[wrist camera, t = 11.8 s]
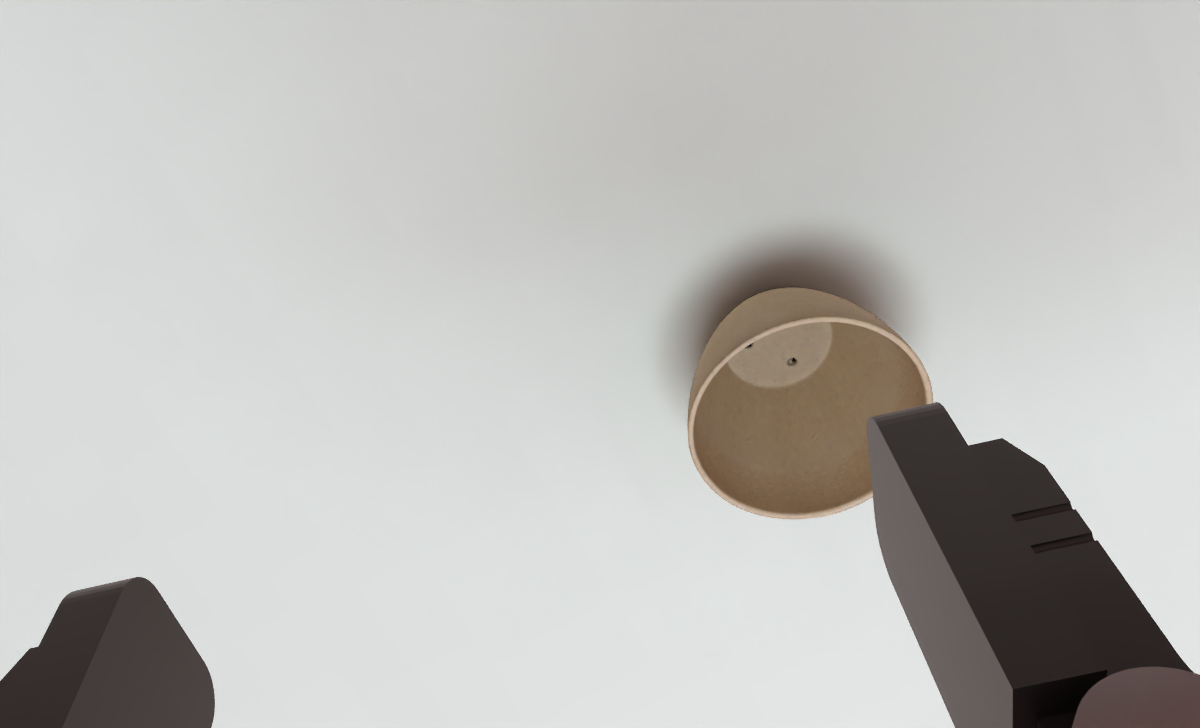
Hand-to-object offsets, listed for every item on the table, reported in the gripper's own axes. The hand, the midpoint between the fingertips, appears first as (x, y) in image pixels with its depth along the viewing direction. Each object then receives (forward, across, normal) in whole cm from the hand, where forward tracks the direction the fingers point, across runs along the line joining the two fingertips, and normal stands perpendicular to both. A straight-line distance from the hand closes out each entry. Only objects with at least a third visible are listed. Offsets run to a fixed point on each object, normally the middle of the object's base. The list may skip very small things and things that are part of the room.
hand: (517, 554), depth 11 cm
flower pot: (+32, -8, +19) cm, 38 cm away
